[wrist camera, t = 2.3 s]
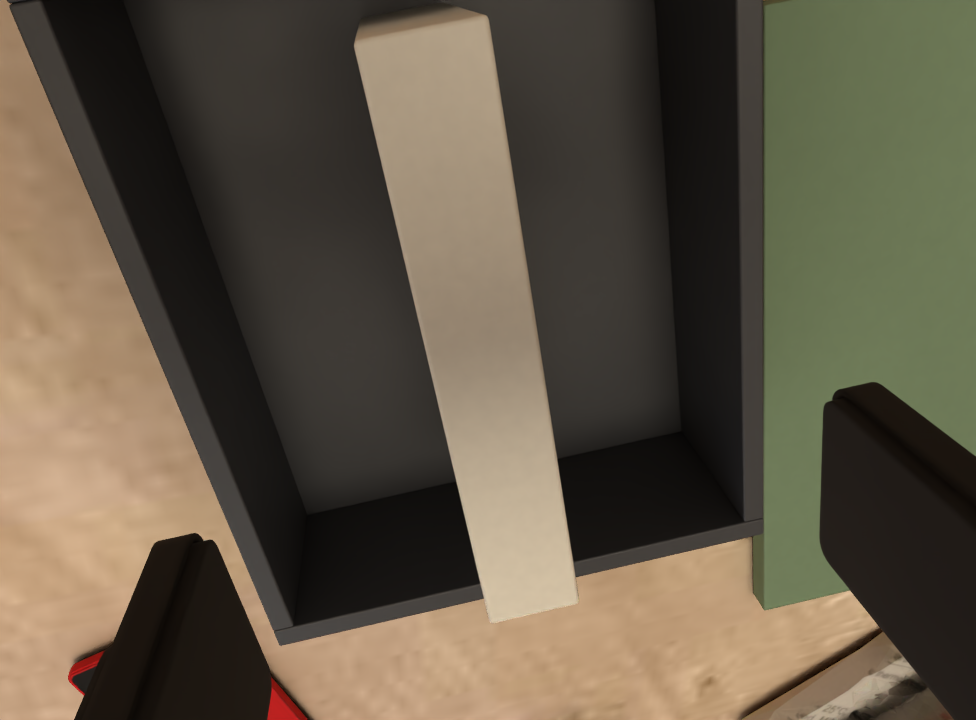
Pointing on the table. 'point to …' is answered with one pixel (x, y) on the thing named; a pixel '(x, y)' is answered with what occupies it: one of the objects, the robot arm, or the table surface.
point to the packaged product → (859, 691)
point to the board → (471, 292)
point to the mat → (861, 243)
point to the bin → (386, 288)
